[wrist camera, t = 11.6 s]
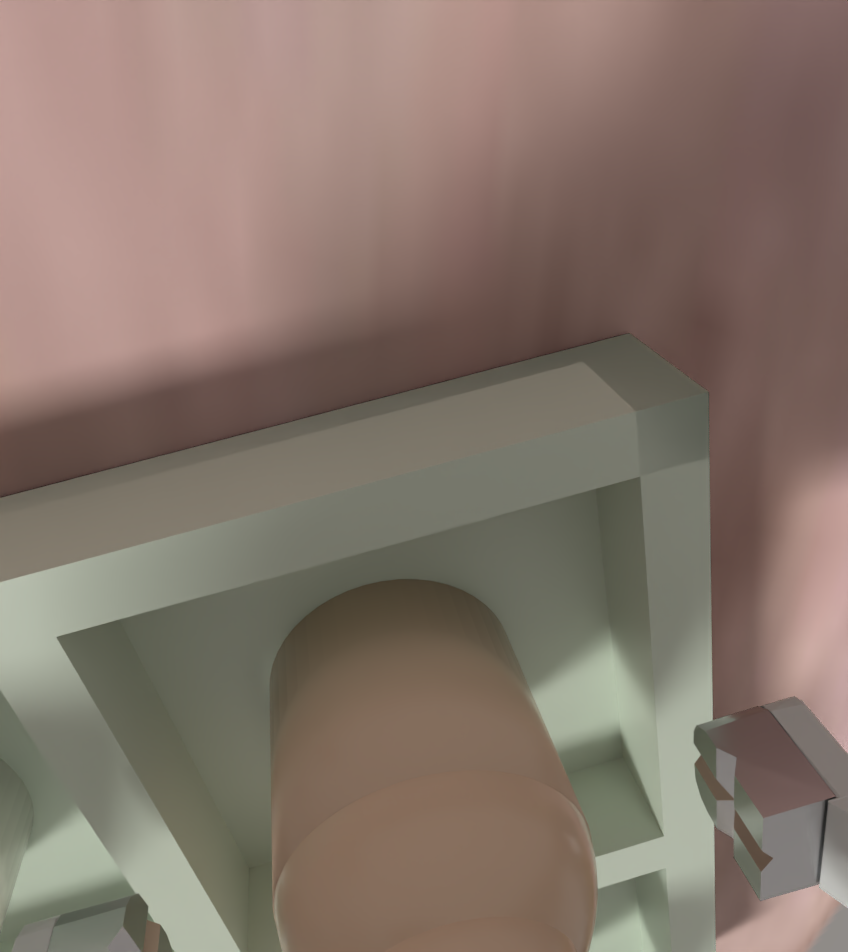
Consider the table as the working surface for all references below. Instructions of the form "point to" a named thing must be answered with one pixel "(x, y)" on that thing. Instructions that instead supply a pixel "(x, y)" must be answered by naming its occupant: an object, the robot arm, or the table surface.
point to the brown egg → (419, 785)
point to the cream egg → (12, 831)
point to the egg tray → (345, 568)
